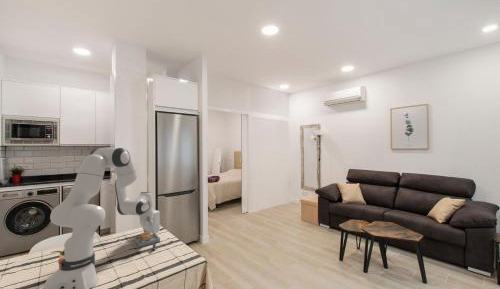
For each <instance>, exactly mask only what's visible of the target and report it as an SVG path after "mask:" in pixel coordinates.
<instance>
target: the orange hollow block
mask: <svg viewBox="0 0 500 289" xmlns="http://www.w3.org/2000/svg"><path fill="white" fill-rule="evenodd" d="M139 236H140V237H138V236H137V237H138V240H139V241H141V240H143V241H146V240H149V239H153V238H154V237H153V233H151V234H150V237H149V238H148V237H147V232H145V233H144V232H142V233H141V232H140V235H139Z"/></svg>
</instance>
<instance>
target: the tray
mask: <svg viewBox="0 0 500 289" xmlns="http://www.w3.org/2000/svg"><path fill="white" fill-rule="evenodd" d="M140 236H141V235H138V236H135V237H133V238H134V242H135V244H136V246H137V247H138V248H143V247H144V248H145V247H147V246H151V245H153V243H154V244H157V243H160V242H161V238H160V236H159V235H157V233H155V232H153V237H154V238H153V239H149V240H146V241H143V240H141V241H139V240H138V237H140Z"/></svg>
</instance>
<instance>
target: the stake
mask: <svg viewBox="0 0 500 289" xmlns="http://www.w3.org/2000/svg"><path fill="white" fill-rule="evenodd" d="M157 250H158V248H157V245H156V243H153V244H152V248H151V251H152V252H155V251H157Z"/></svg>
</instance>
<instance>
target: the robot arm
mask: <svg viewBox="0 0 500 289" xmlns="http://www.w3.org/2000/svg"><path fill="white" fill-rule="evenodd" d="M107 168H114V172H115V175H116V179H115V181H114V188H115V197H116V202H117V203H116V211H117V212H118V214H119V215H120V216H121V215H122V216H127V215H129V216H138V218H139V224H140V227H142V230H143V233H145V232H147V237H148V238H149V237H150V234H151V233H152V232H153V231H154V226H153V221H152V218H153V217H154V213H153V210H154V197H153V193H152V192H150V191H142V192H140V193H139V196H138V197H137V198H135V199H131V198H129V197H128V194H127V189H126V188H127V187H128V186H130V185H132V184H133V183H135V181H137V179H138V171H137V168H136V165H135V162H134V160H133V157H132V156H131V154H130V151H128V150H127V149H126V148H122V147H108V146H107V147H97V148H94V149H93V150H91V151H90V152H89V155H88V154H87V155H86V156H85V157H84V159H83V161H82V163H81V164H80V166H79V169H78V172H77V173H76V177H75V180H74V181H73V182H74V183H73V185H72V188H71V190H70V192H69V193H68V195H67V196H66V197H65V199H64V200H63V201H62V202H60V203H59V204H58V205H57V206H55V207H54V208H52V210H51V213H50V216H49V219H50V221H51V223H52V224H53V225H56V226H58V227H61V228H71V229H72V232H71V236H69V238H67V239H66V241H65V242H64V244H63V245H64V247H63V248H64V249H63V251H64V258H63V257H61V258H59V259H58V261H57V263H58V269H57V270H56V271H55V272H54V273H52V274H51V275H50V276H49V277H47V279H46V281H45V283H44V284H43V288H42V289H91V288H93V287H94V286H95V285H96V284H98V282H99V277H98V274H97V271H96V267H95V266H96V265H95V263H96V254H95V253H96V252H95V251H94V239H95V238H94V237H95V233H96V231H97V229H98V228H99V226H101V225H102V224H103V223H104V222H105V221H104V220H105V218H106V210H105V209H104V208H103V207H102V206H99V205H97V204H91V203H89V202H90V201H91V199H92V198H93V197H95V196H97V195H98V194H99V192H100V190H101V187H102V182H103V181H104V180H103V179H104V176H105V171H106V169H107Z"/></svg>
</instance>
